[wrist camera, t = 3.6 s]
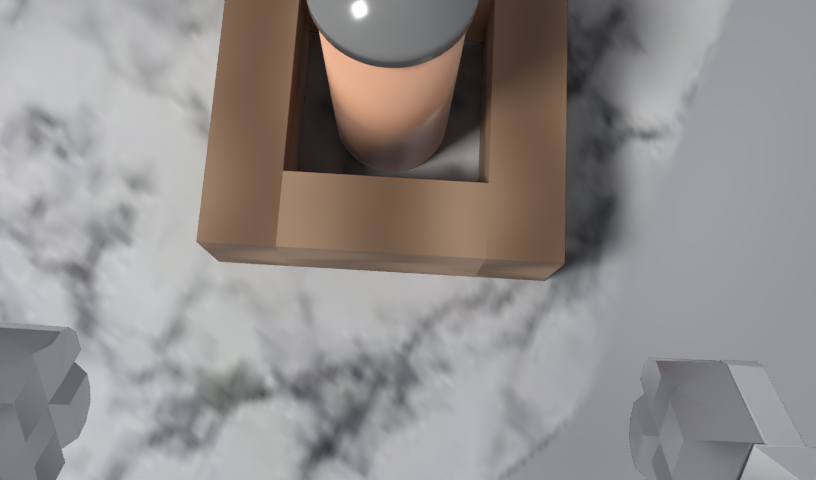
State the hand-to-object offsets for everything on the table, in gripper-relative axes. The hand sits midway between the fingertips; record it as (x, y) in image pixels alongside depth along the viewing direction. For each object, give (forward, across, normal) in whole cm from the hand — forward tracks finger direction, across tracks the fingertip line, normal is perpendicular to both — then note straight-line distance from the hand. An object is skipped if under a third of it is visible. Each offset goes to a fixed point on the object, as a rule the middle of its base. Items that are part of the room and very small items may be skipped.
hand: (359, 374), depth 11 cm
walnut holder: (+24, +1, +6) cm, 25 cm away
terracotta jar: (+24, +1, +6) cm, 25 cm away
